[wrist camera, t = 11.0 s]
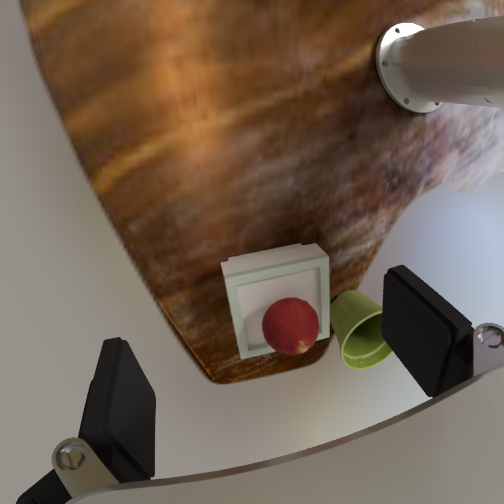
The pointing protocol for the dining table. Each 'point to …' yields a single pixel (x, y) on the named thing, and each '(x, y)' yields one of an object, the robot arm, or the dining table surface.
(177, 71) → the dining table surface
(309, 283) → the pedestal
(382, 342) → the plant pot
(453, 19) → the dining table surface
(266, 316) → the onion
